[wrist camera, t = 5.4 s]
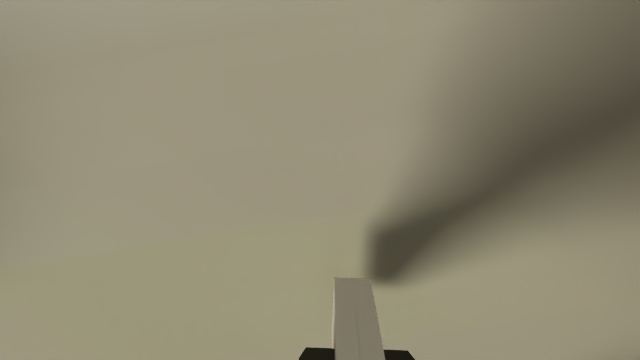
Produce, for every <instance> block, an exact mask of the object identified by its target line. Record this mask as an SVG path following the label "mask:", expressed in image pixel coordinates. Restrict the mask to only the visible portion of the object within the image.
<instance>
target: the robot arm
mask: <svg viewBox="0 0 640 360" xmlns="http://www.w3.org/2000/svg"><path fill="white" fill-rule="evenodd" d="M299 360H415V359H414V358H413V357H412V355H411V354H410V353H409V352H408V351H402V350H383V345H382V339H381V334H380V329H379V323H378V318H377V313H376V307H375V302H374V297H373V291H372V286H371V281H370V279H363V278H338V277H334V295H333V316H332V349H331V348H308V347H306V348H305V350H304V351H303V353H302V354H301V356H300V358H299Z"/></svg>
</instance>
